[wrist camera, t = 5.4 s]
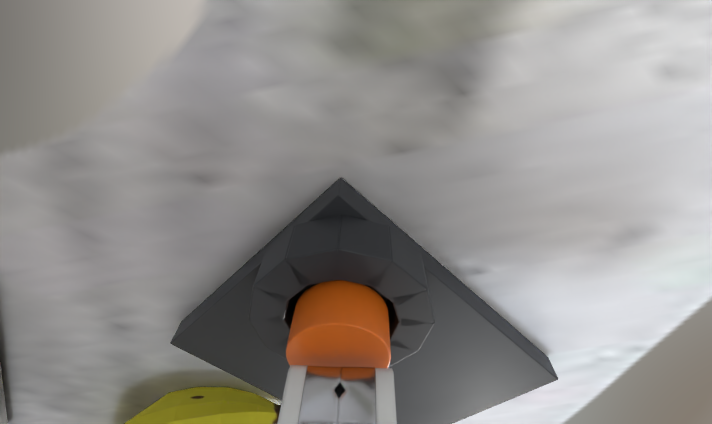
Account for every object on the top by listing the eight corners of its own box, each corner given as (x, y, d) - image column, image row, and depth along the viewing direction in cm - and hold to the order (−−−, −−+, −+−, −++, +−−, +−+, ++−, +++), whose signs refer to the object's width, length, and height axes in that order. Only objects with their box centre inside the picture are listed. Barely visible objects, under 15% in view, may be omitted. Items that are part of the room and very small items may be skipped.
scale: (176, 319, 17) (143, 379, 14) (342, 165, 12) (336, 215, 10) (383, 430, 22) (385, 488, 20) (554, 353, 17) (585, 417, 15)
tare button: (276, 312, 12) (264, 357, 11) (339, 263, 11) (335, 307, 10) (343, 353, 14) (340, 399, 12) (407, 314, 12) (412, 360, 11)
